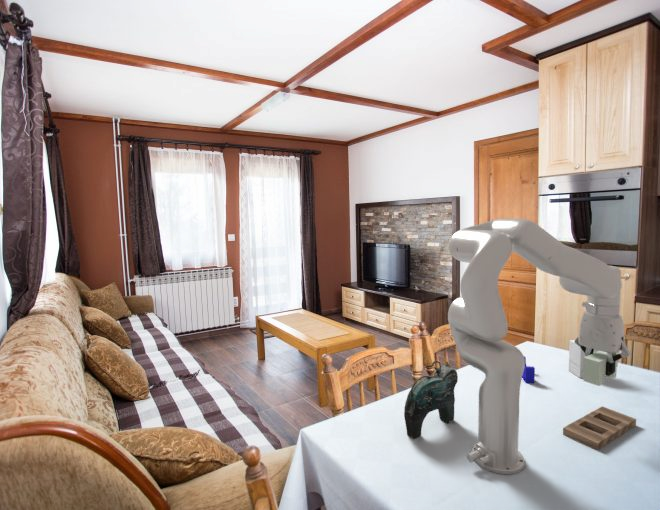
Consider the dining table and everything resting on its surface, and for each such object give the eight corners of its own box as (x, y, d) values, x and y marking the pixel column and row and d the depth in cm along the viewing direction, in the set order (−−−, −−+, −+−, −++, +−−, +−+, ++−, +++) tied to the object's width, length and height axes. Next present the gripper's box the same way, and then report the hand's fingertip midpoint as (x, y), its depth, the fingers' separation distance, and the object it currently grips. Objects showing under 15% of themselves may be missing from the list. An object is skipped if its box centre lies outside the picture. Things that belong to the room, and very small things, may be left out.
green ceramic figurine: (446, 412, 124) (446, 352, 122) (462, 421, 119) (463, 358, 117) (400, 433, 114) (400, 368, 111) (417, 444, 108) (416, 375, 106)
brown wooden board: (597, 450, 103) (597, 443, 103) (562, 434, 111) (563, 427, 110) (635, 425, 114) (636, 419, 114) (601, 412, 122) (602, 406, 121)
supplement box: (599, 378, 146) (600, 345, 145) (579, 378, 146) (580, 346, 145) (586, 370, 153) (587, 339, 152) (567, 370, 153) (568, 339, 152)
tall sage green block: (598, 386, 107) (599, 362, 106) (582, 381, 110) (583, 357, 109) (617, 376, 112) (618, 353, 111) (601, 371, 116) (602, 349, 115)
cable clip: (512, 370, 156) (512, 355, 155) (524, 370, 155) (524, 356, 154) (521, 383, 144) (521, 367, 143) (534, 383, 143) (534, 368, 143)
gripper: (564, 305, 114) (563, 365, 116) (632, 318, 100) (628, 385, 102) (578, 302, 118) (576, 359, 120) (644, 313, 104) (641, 378, 106)
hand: (600, 371), depth 111 cm, fingers closed on tall sage green block, 4 cm apart
